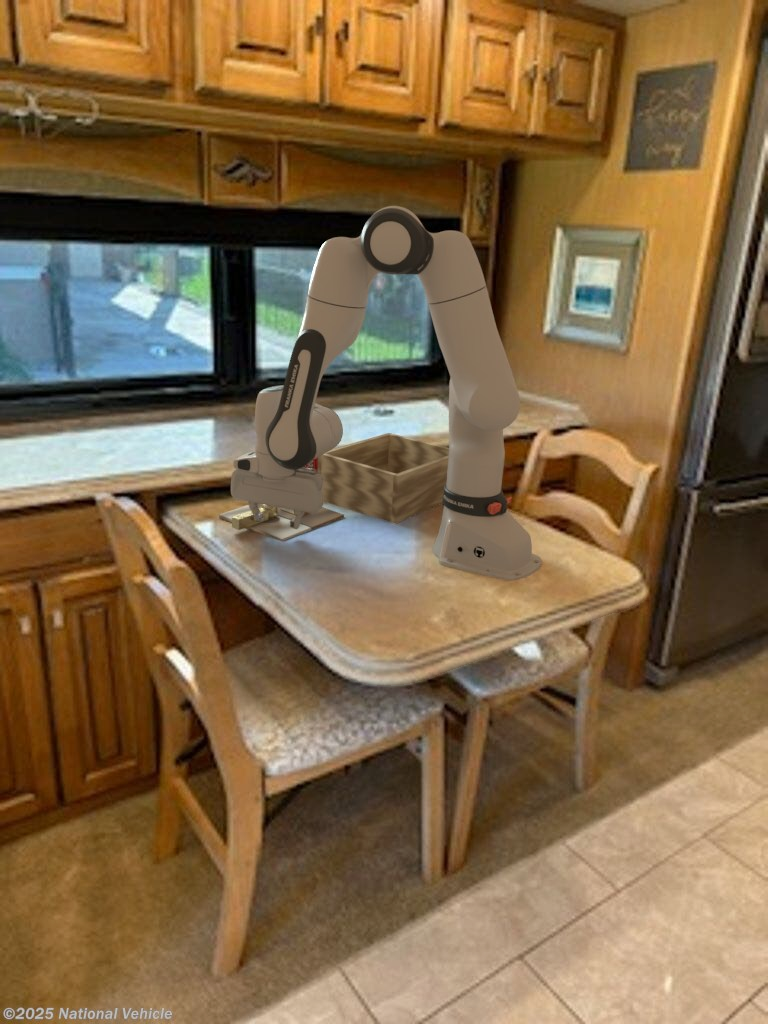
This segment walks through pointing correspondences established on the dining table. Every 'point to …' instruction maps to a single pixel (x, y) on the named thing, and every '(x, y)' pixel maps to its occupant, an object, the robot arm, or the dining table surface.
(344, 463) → the box
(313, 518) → the door mockup
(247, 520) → the latch arm
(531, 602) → the dining table surface
